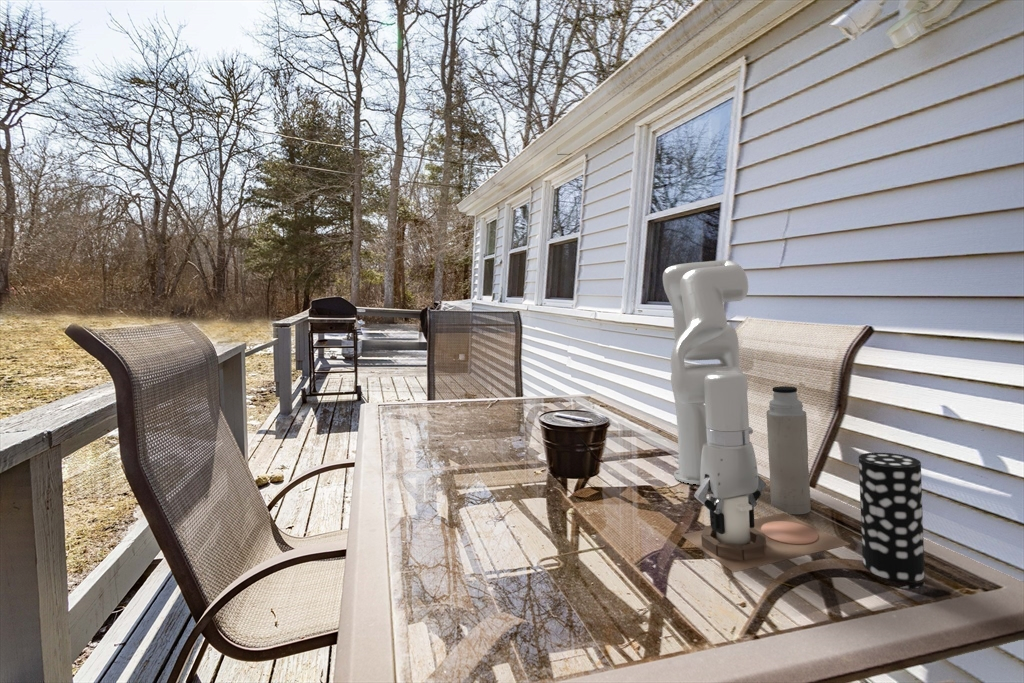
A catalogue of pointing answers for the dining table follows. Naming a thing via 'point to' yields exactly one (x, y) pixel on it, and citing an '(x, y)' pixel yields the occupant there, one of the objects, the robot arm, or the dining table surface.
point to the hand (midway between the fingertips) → (732, 527)
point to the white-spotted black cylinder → (892, 517)
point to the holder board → (766, 542)
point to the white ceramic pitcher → (735, 521)
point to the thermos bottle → (788, 452)
